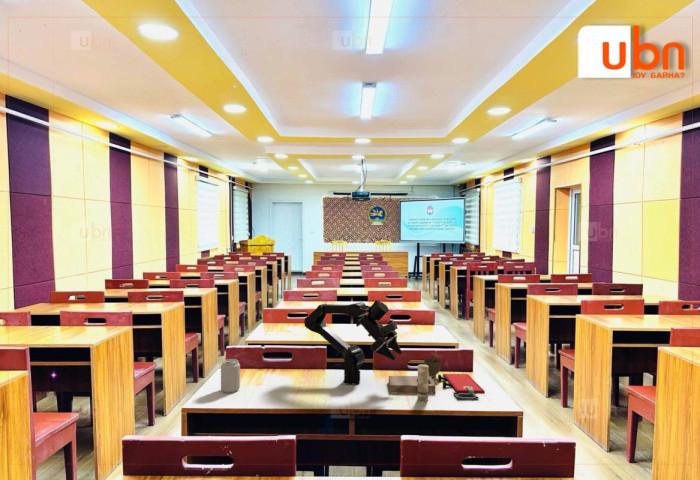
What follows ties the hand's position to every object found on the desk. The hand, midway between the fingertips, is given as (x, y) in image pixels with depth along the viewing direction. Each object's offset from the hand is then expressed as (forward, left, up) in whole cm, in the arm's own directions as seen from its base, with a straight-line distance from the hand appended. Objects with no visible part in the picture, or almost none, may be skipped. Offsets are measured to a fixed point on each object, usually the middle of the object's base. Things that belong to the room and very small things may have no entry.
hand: (398, 356), depth 180 cm
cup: (+17, +17, -14) cm, 28 cm away
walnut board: (+6, +3, -14) cm, 15 cm away
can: (-68, -3, -14) cm, 70 cm away
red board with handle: (+27, +5, -15) cm, 31 cm away
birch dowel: (+9, -10, -14) cm, 19 cm away
